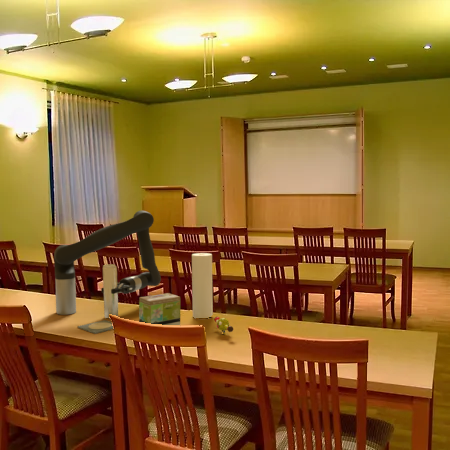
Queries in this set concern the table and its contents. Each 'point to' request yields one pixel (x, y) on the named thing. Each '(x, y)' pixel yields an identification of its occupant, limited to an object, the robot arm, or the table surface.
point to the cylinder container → (202, 285)
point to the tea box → (160, 309)
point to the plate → (97, 326)
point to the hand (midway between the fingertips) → (107, 291)
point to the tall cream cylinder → (108, 285)
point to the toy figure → (223, 324)
